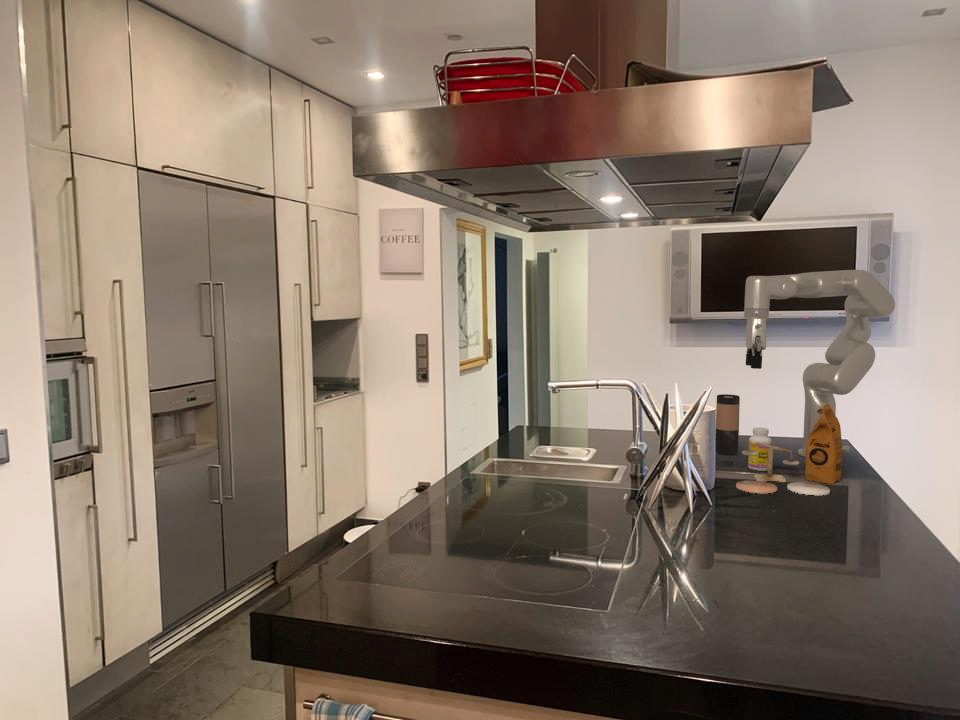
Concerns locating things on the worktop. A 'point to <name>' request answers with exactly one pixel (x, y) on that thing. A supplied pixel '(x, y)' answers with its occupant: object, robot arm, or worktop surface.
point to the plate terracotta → (756, 487)
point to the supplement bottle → (759, 450)
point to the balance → (771, 461)
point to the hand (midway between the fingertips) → (753, 366)
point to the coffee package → (824, 449)
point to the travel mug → (727, 424)
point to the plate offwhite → (808, 488)
